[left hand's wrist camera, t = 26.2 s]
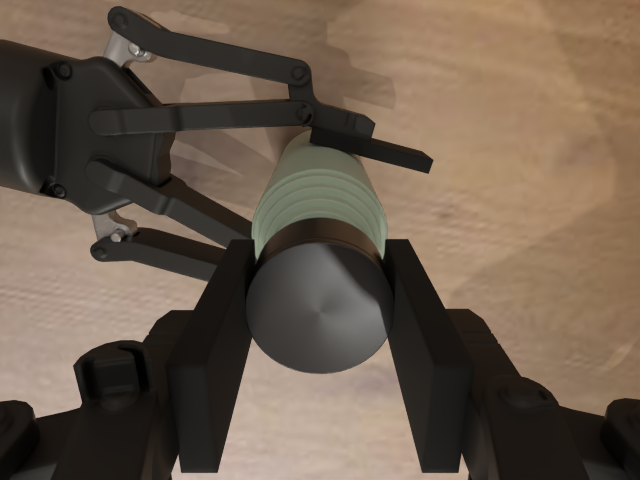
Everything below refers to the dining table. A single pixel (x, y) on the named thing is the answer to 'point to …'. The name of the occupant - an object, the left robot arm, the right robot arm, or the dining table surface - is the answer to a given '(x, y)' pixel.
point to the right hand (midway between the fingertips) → (405, 215)
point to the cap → (319, 297)
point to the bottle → (318, 193)
